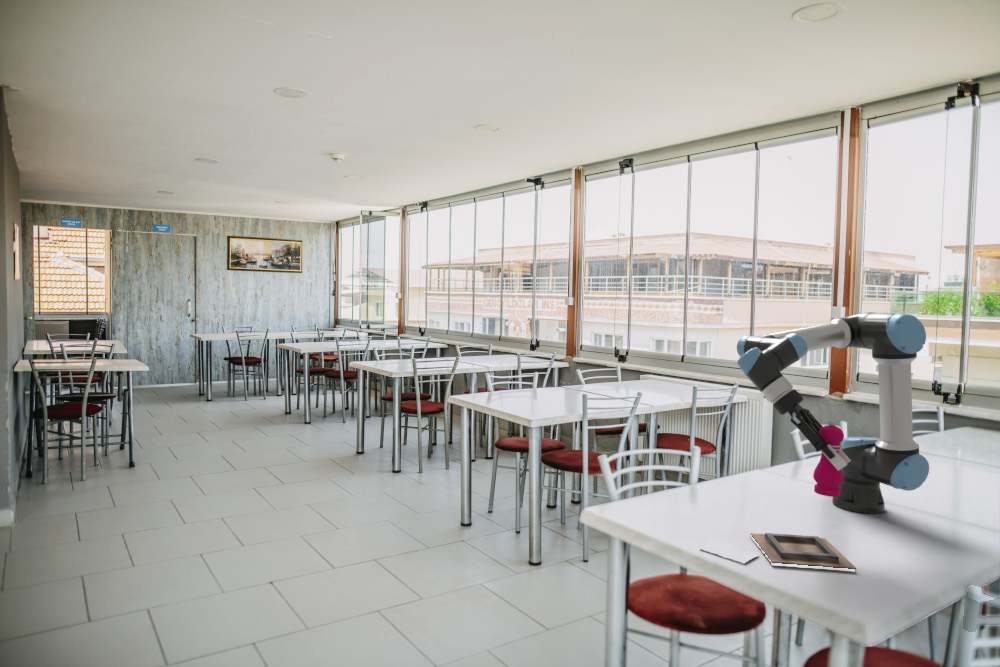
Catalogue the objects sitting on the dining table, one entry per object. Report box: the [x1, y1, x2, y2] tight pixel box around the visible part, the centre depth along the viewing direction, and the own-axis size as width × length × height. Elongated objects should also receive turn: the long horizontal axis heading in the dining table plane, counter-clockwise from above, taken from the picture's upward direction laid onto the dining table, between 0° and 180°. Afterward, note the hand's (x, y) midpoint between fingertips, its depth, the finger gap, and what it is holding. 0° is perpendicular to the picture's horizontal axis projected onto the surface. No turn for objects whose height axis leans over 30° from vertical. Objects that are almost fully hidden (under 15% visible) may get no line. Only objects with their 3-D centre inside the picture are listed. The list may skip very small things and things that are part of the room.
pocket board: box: [750, 532, 857, 570], centre depth 171 cm, size 20×20×3 cm
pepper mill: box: [812, 419, 845, 498], centre depth 173 cm, size 7×7×20 cm
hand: (844, 465), depth 171 cm, fingers closed on pepper mill, 5 cm apart
